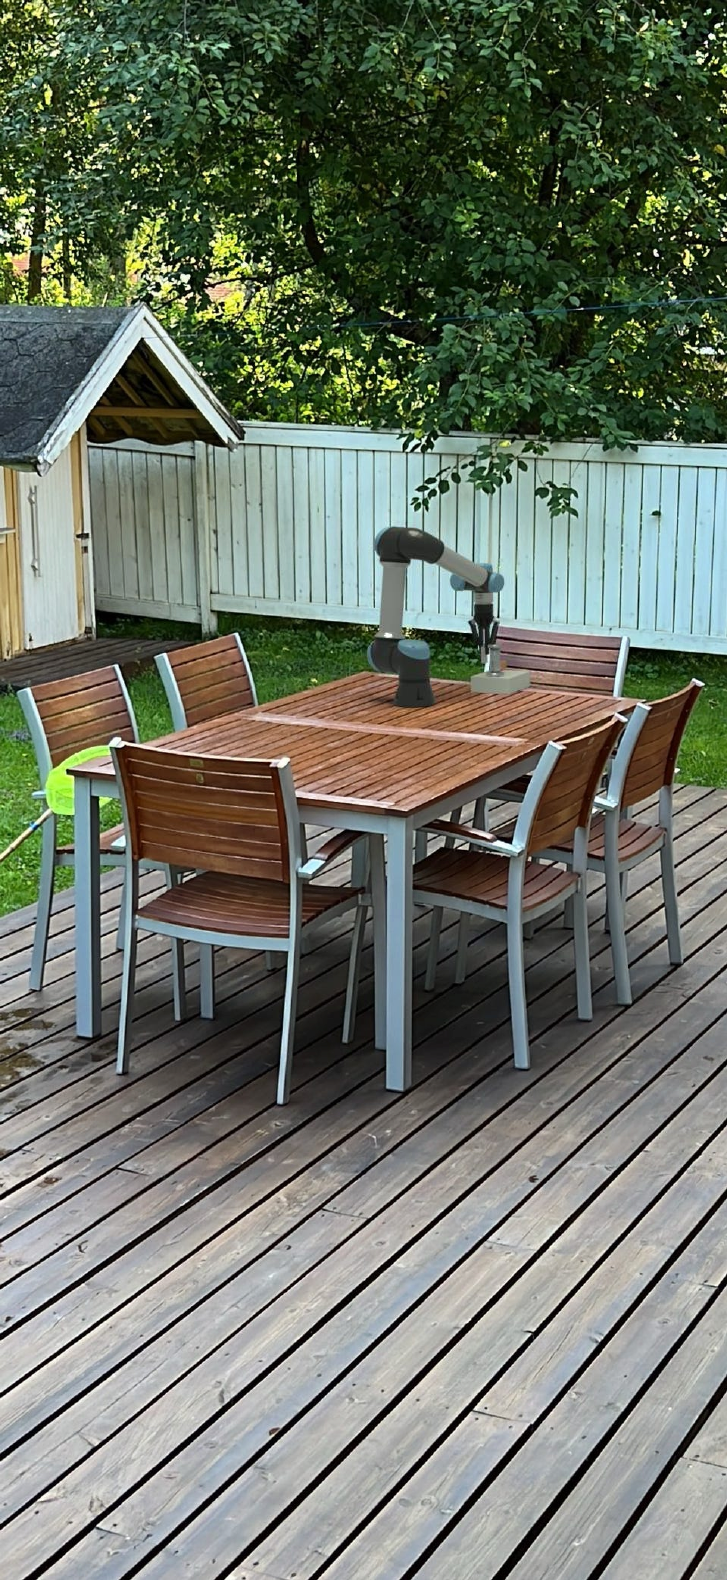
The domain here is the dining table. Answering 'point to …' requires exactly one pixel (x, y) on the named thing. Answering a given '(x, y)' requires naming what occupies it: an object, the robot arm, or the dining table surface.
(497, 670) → the grey flanged post
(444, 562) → the robot arm
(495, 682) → the block
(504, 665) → the lock tab
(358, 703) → the dining table surface
